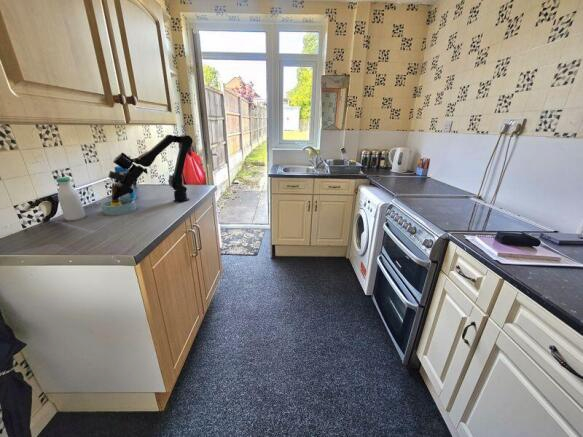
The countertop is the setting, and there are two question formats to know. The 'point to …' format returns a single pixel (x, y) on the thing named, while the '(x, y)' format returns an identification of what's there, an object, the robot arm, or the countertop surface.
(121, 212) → the bowl
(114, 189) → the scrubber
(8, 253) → the countertop surface
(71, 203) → the milk bottle
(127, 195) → the beverage bottle
